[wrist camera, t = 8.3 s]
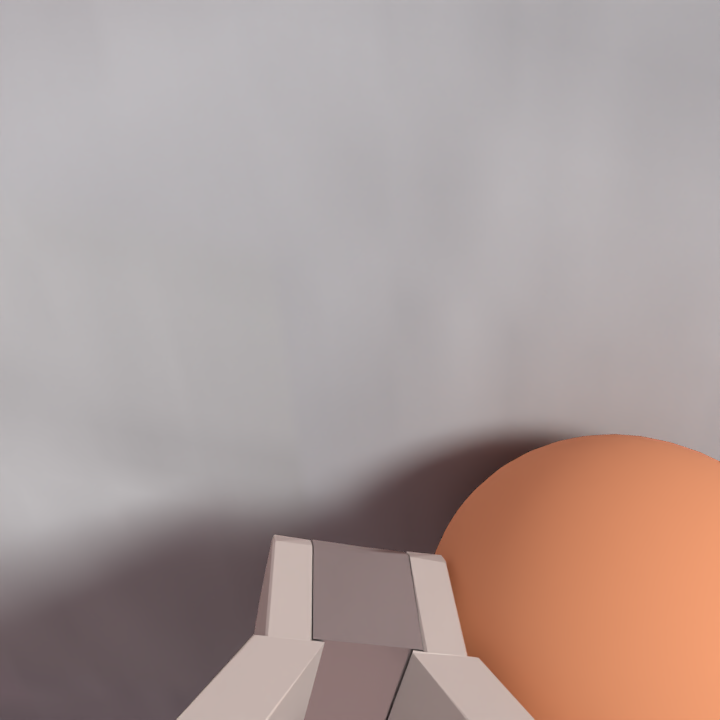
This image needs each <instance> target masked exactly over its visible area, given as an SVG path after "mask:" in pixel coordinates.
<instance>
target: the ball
mask: <svg viewBox="0 0 720 720" xmlns="http://www.w3.org/2000/svg"><path fill="white" fill-rule="evenodd" d="M435 554H436V555H442V557H443V558H444V559H445V561H446V565H447V569H448V573H449V578H450V582H451V586H452V591H453V595H454V599H455V604H456V608H457V612H458V617H459V621H460V626H461V630H462V634H463V639H464V643H465V647H466V652H467V656H470V657H477V658H479V659H480V660H481V661H482V662H483V663H484V664H485V665H486V666H487V667H488V669H489V670H490V671H491V672H492V673H493V674H494V675H495V676H496V677H497V678H498V680H499V681H500V682H501V683H502V684H503V685H504V686H505V687H506V688H507V689H508V691H509V692H510V693H511V694H512V695H513V696H514V697H515V698H516V699H517V700H518V702H519V703H520V704H521V705H522V706H523V707H524V708H525V709H526V710H527V712H528V713H529V714H530V715H531V716H532V717H533V718H534V719H535V720H720V461H718V460H715V459H713V458H711V457H709V456H707V455H705V454H703V453H701V452H698V451H695V450H692V449H689V448H686V447H683V446H680V445H677V444H674V443H670V442H666V441H661V440H657V439H652V438H647V437H642V436H631V435H618V434H610V435H591V436H582V437H577V438H572V439H566V440H561V441H558V442H555V443H552V444H549V445H546V446H543V447H540V448H537V449H535V450H532V451H530V452H528V453H526V454H524V455H522V456H520V457H518V458H516V459H515V460H513V461H511V462H509V463H508V464H506V465H504V466H503V467H501V468H500V469H499V470H497V471H496V472H495V473H493V474H492V475H491V476H490V477H489V478H488V479H486V480H485V481H484V482H483V483H482V484H481V485H480V486H478V487H477V488H476V489H475V490H474V491H473V492H472V493H471V495H470V496H469V497H468V498H467V499H466V500H465V501H464V503H463V504H462V505H461V506H460V508H459V509H458V511H457V512H456V513H455V515H454V516H453V518H452V520H451V521H450V523H449V525H448V526H447V528H446V530H445V532H444V534H443V536H442V538H441V541H440V543H439V545H438V547H437V549H436V552H435Z"/></svg>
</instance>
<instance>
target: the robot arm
mask: <svg viewBox="0 0 720 720" xmlns="http://www.w3.org/2000/svg"><path fill="white" fill-rule="evenodd" d="M176 720H535V719H534V718H533V717H532V716H531V715H530V714H529V713H528V712H527V710H526V709H525V708H524V707H523V706H522V705H521V704H520V703H519V702H518V700H517V699H516V698H515V697H514V696H513V695H512V694H511V693H510V692H509V691H508V689H507V688H506V687H505V686H504V685H503V684H502V683H501V682H500V681H499V680H498V678H497V677H496V676H495V675H494V674H493V673H492V672H491V671H490V670H489V669H488V667H487V666H486V665H485V664H484V663H483V662H482V661H481V660H480V659H479V658H477V657H470V656H467V652H466V647H465V643H464V639H463V634H462V630H461V626H460V621H459V617H458V612H457V608H456V604H455V599H454V595H453V591H452V586H451V582H450V578H449V573H448V569H447V565H446V561H445V559H444V558H443V557H442V555H436V554H427V553H417V552H408V551H406V552H403V551H396V550H387V549H378V548H369V547H361V546H354V545H347V544H341V543H334V542H327V541H320V540H313V539H312V540H311V541H310V540H307V539H301V538H294V537H288V536H281V535H274V536H273V538H272V541H271V546H270V551H269V556H268V560H267V565H266V570H265V575H264V580H263V585H262V590H261V595H260V601H259V607H258V613H257V619H256V625H255V631H254V635H253V636H252V637H251V638H250V639H249V640H248V641H247V642H246V643H245V644H244V645H243V647H242V648H241V649H240V650H239V651H238V652H237V653H236V654H235V655H234V656H233V658H232V659H231V660H230V661H229V662H228V663H227V664H226V665H225V666H224V667H223V669H222V670H221V671H220V672H219V673H218V674H217V675H216V676H215V677H214V678H213V680H212V681H211V682H210V683H209V684H208V685H207V686H206V687H205V688H204V689H203V691H202V692H201V693H200V694H199V695H198V696H197V697H196V698H195V699H194V700H193V701H192V703H191V704H190V705H189V706H188V707H187V708H186V709H185V710H184V711H183V712H182V714H181V715H180V716H179V717H178V718H177V719H176Z"/></svg>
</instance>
